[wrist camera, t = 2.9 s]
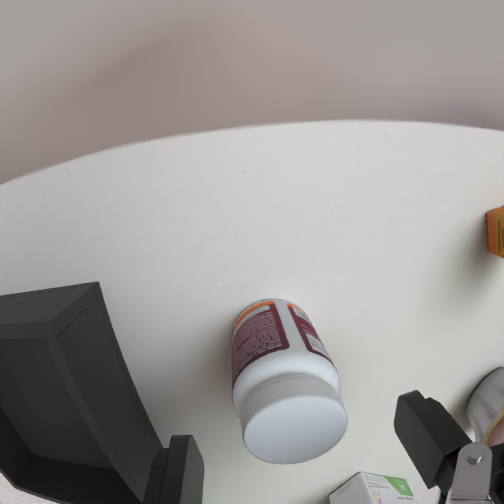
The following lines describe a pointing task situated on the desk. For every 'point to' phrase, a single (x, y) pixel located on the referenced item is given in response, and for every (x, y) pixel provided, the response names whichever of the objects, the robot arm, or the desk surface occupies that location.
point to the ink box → (373, 491)
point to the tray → (69, 401)
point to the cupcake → (488, 409)
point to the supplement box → (496, 231)
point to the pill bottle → (284, 385)
